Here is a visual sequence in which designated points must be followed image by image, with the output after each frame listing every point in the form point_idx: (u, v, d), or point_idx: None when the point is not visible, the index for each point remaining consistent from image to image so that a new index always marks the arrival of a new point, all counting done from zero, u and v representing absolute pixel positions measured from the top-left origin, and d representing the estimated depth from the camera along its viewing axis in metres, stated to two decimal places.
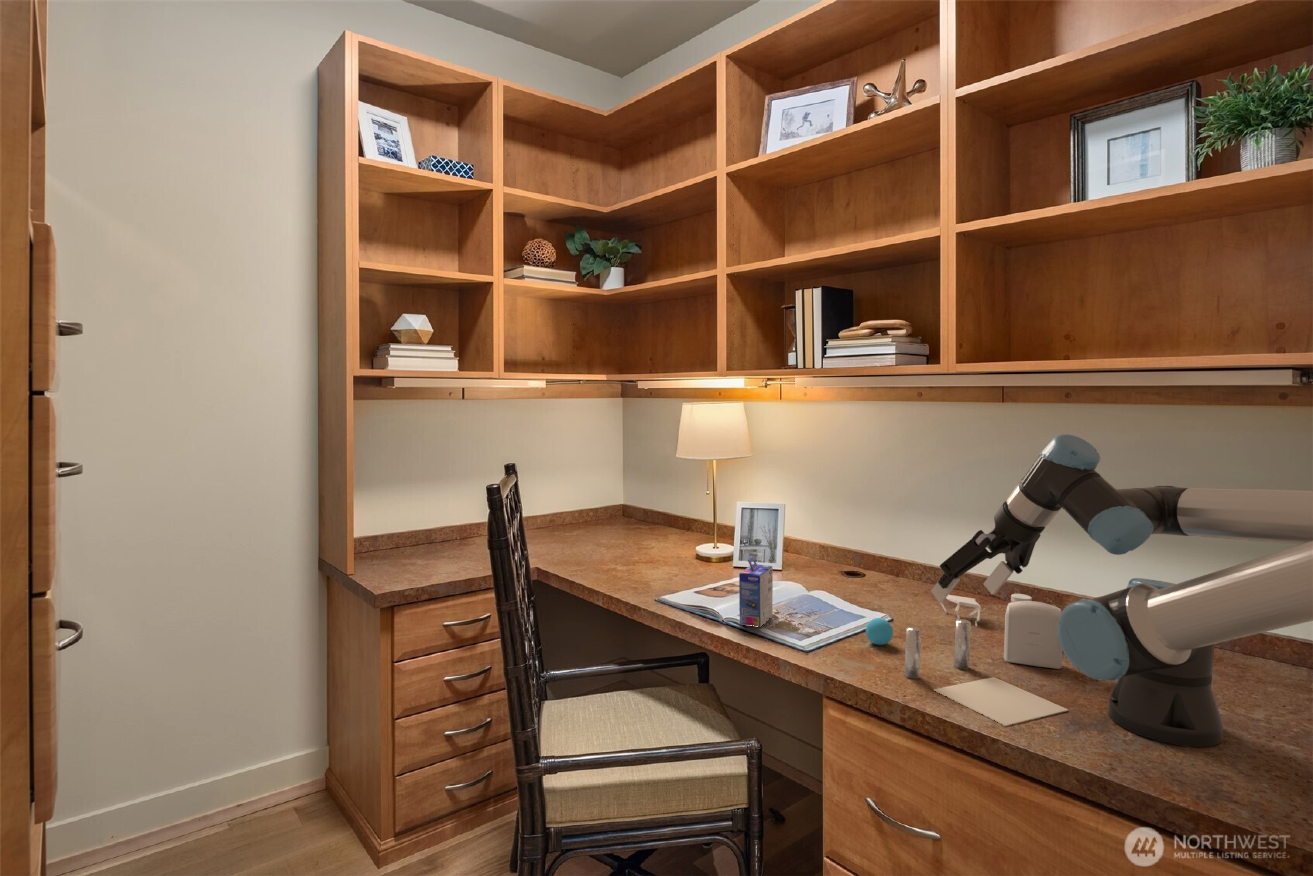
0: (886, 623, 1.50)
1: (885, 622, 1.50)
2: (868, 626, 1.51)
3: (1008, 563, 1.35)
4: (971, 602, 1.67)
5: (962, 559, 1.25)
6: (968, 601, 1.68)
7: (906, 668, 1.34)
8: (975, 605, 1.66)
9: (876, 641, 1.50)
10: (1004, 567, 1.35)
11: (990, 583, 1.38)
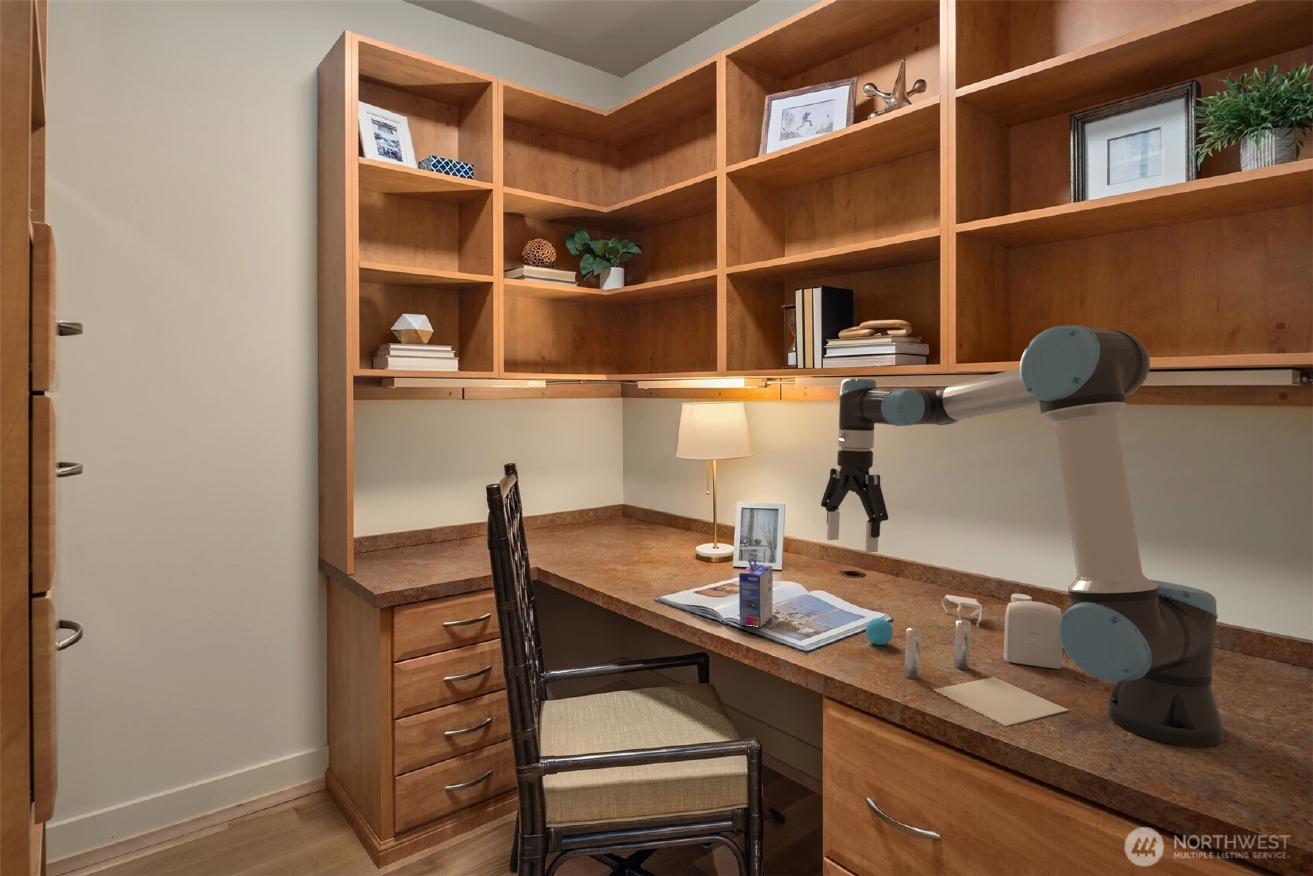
0: (886, 623, 1.50)
1: (885, 622, 1.50)
2: (868, 626, 1.51)
3: (832, 509, 1.65)
4: (972, 602, 1.67)
5: (882, 501, 1.52)
6: (969, 601, 1.68)
7: (906, 668, 1.34)
8: (977, 605, 1.66)
9: (876, 641, 1.50)
10: (834, 513, 1.65)
11: (833, 534, 1.65)
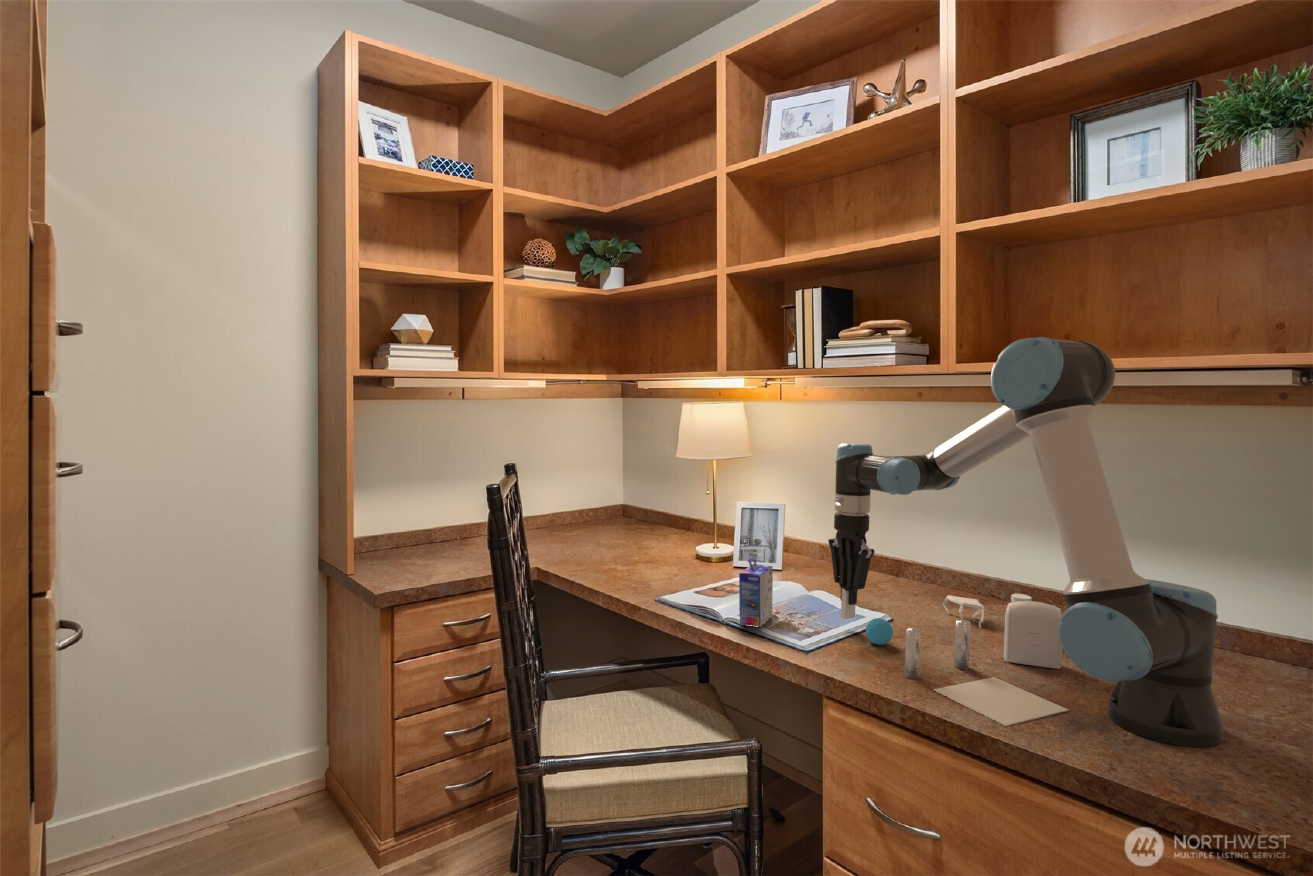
0: (886, 623, 1.50)
1: (885, 622, 1.50)
2: (868, 626, 1.51)
3: (845, 584, 1.61)
4: (974, 603, 1.67)
5: (865, 573, 1.56)
6: (971, 602, 1.67)
7: (906, 668, 1.34)
8: (979, 606, 1.65)
9: (876, 641, 1.50)
10: None
11: None
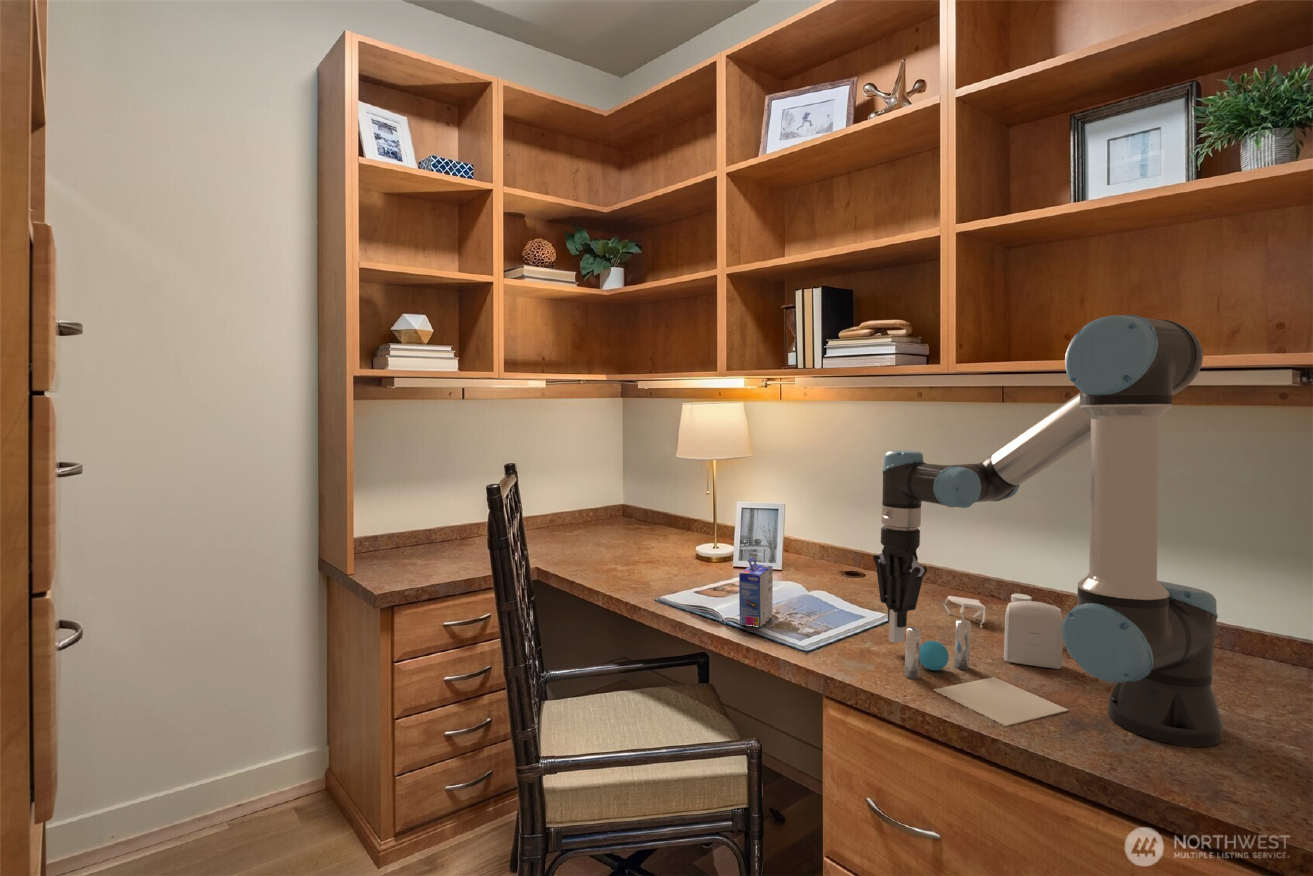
0: None
1: None
2: None
3: (893, 604, 1.47)
4: (976, 604, 1.66)
5: (917, 593, 1.43)
6: (972, 603, 1.67)
7: (906, 668, 1.34)
8: (980, 607, 1.65)
9: (934, 657, 1.36)
10: None
11: None
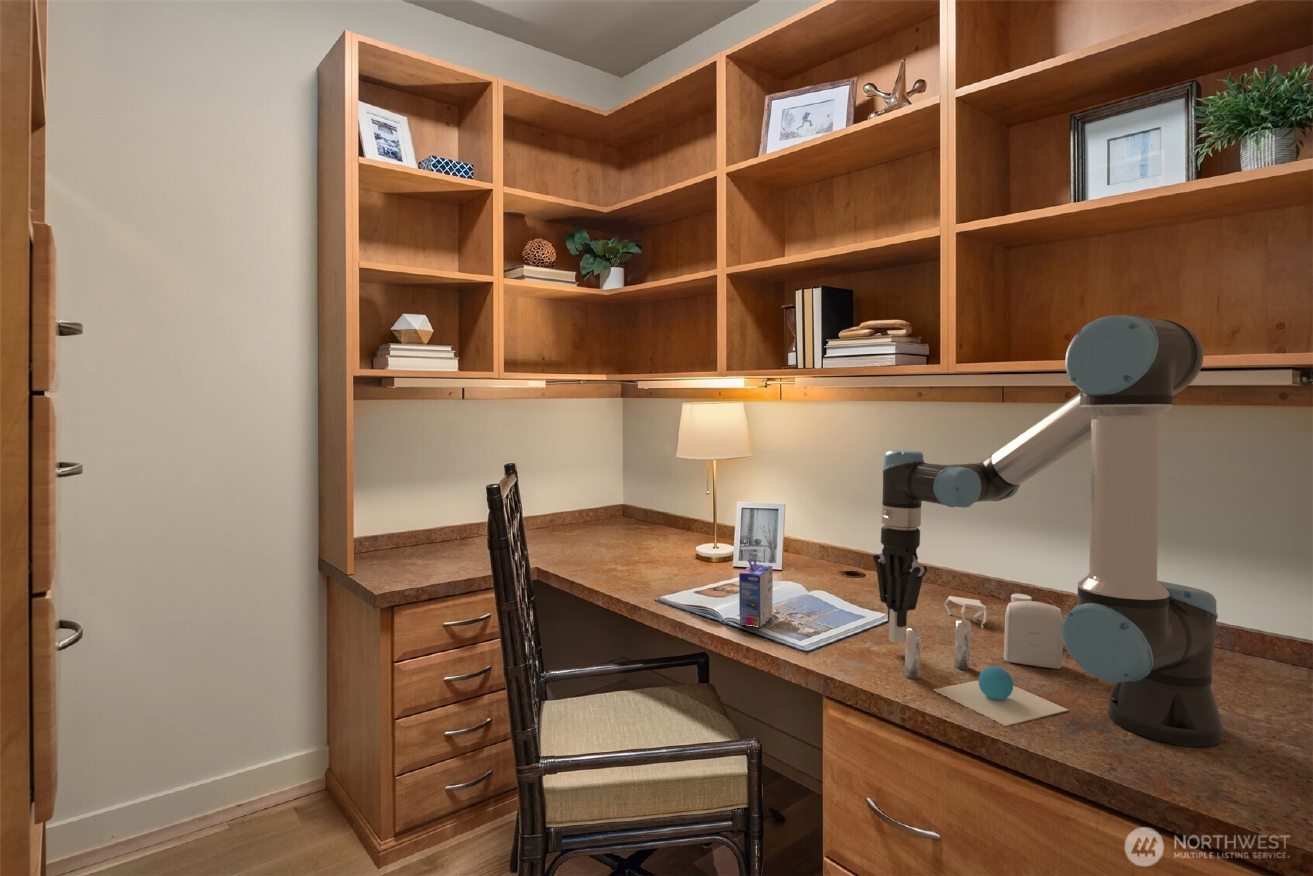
0: None
1: None
2: (983, 691, 1.25)
3: (893, 604, 1.47)
4: (976, 604, 1.66)
5: (917, 593, 1.43)
6: (973, 603, 1.67)
7: (906, 668, 1.34)
8: (981, 607, 1.65)
9: (990, 674, 1.24)
10: None
11: None
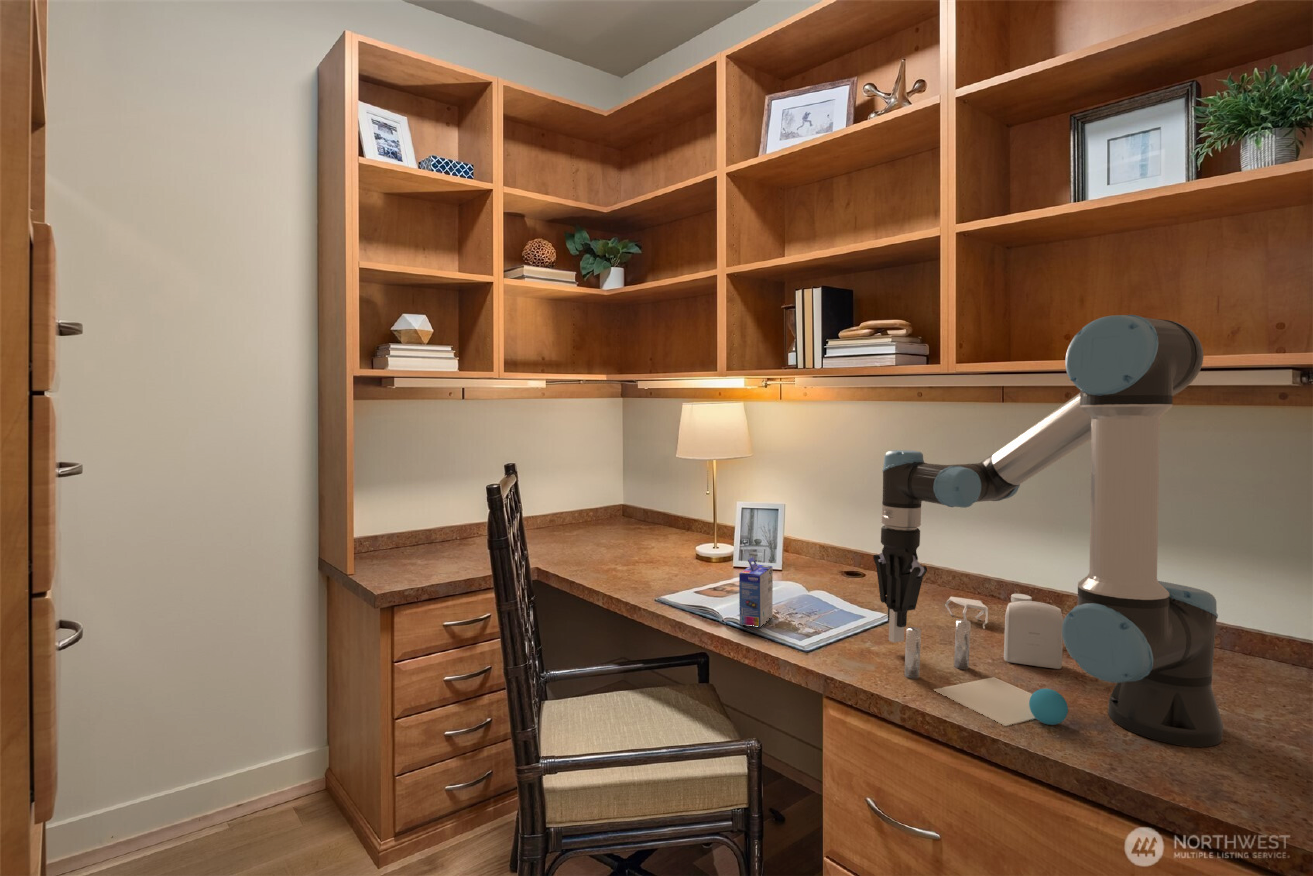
0: (1062, 720, 1.14)
1: (1063, 719, 1.14)
2: (1044, 706, 1.14)
3: (893, 604, 1.47)
4: (978, 604, 1.66)
5: (917, 593, 1.43)
6: (975, 603, 1.67)
7: (906, 668, 1.34)
8: (983, 607, 1.64)
9: None
10: None
11: None
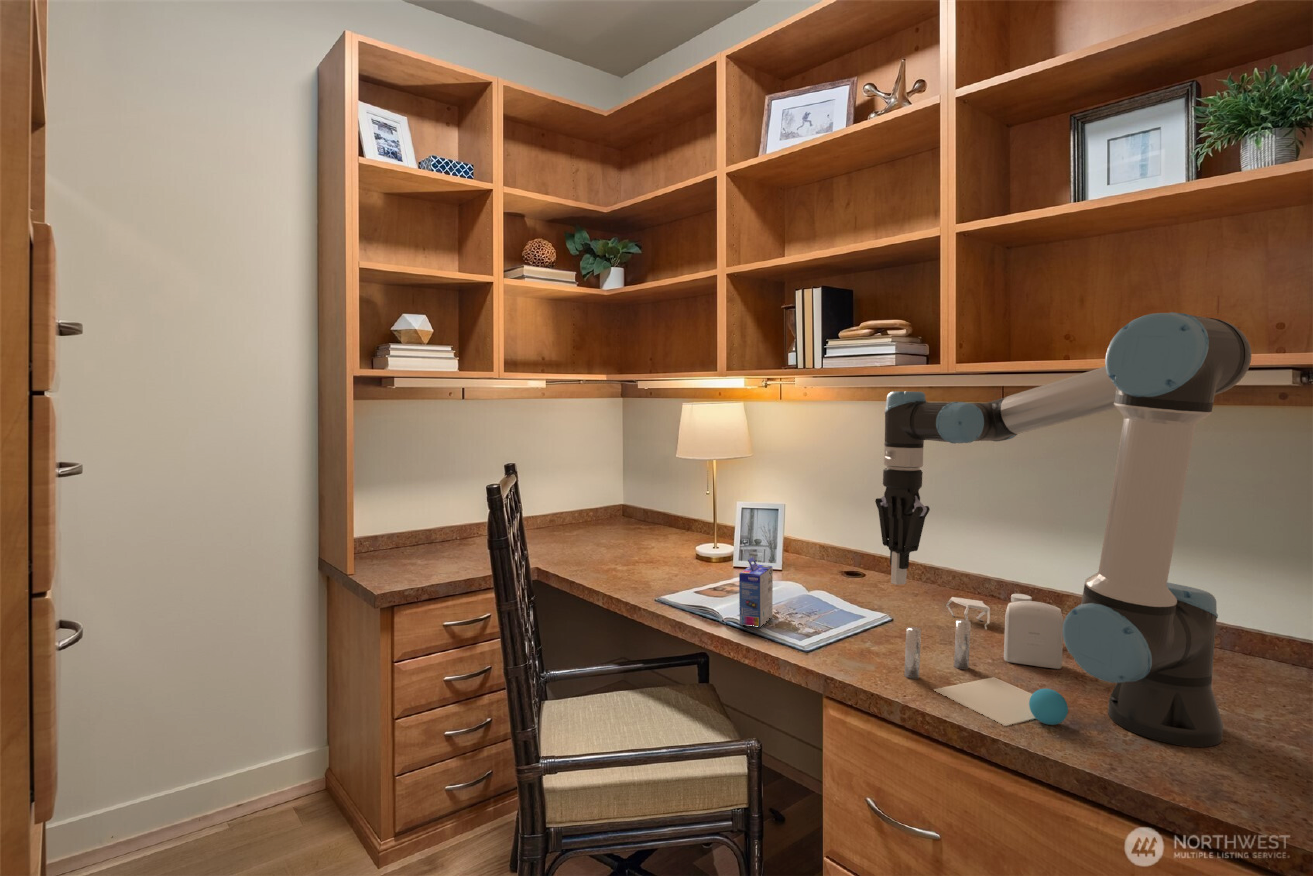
0: (1062, 720, 1.14)
1: (1063, 719, 1.14)
2: (1044, 706, 1.14)
3: (896, 546, 1.47)
4: (980, 605, 1.65)
5: (919, 533, 1.42)
6: (977, 604, 1.66)
7: (906, 668, 1.34)
8: (984, 608, 1.64)
9: None
10: None
11: None
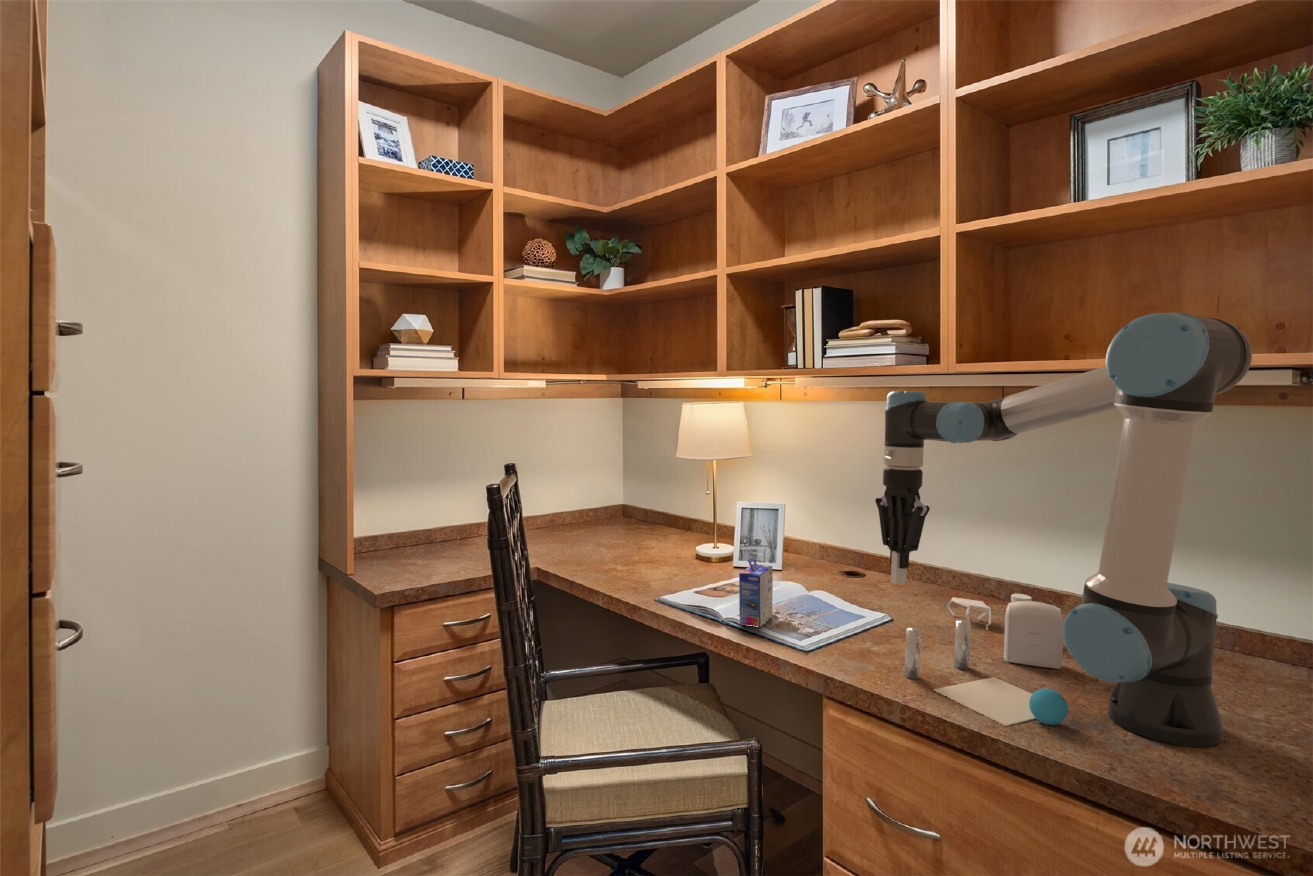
0: (1062, 720, 1.14)
1: (1063, 719, 1.14)
2: (1044, 706, 1.14)
3: (896, 546, 1.47)
4: (981, 605, 1.65)
5: (919, 533, 1.42)
6: (978, 604, 1.66)
7: (906, 668, 1.34)
8: (986, 608, 1.64)
9: None
10: None
11: None
